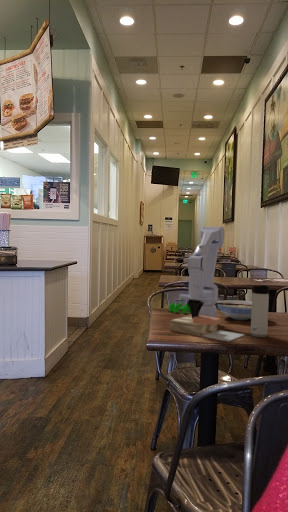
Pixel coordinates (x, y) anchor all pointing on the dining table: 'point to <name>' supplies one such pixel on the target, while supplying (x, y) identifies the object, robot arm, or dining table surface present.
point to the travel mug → (259, 311)
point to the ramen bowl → (236, 309)
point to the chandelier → (179, 307)
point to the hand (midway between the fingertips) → (194, 318)
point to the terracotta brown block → (206, 320)
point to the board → (191, 326)
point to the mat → (223, 335)
